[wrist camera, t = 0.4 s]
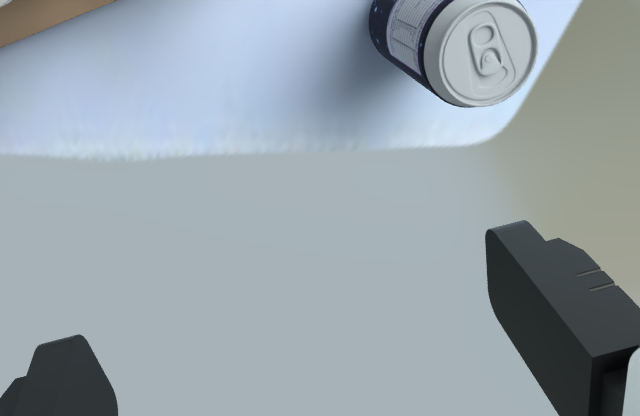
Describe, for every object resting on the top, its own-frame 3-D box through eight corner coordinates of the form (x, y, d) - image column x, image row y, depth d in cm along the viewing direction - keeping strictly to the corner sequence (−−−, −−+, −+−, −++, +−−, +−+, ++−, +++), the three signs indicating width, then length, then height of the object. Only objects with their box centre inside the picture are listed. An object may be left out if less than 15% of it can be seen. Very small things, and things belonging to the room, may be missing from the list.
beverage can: (380, 75, 39) (448, 133, 29) (352, -9, 37) (415, 21, 26) (459, 41, 39) (556, 86, 29) (437, -46, 37) (534, -31, 26)
